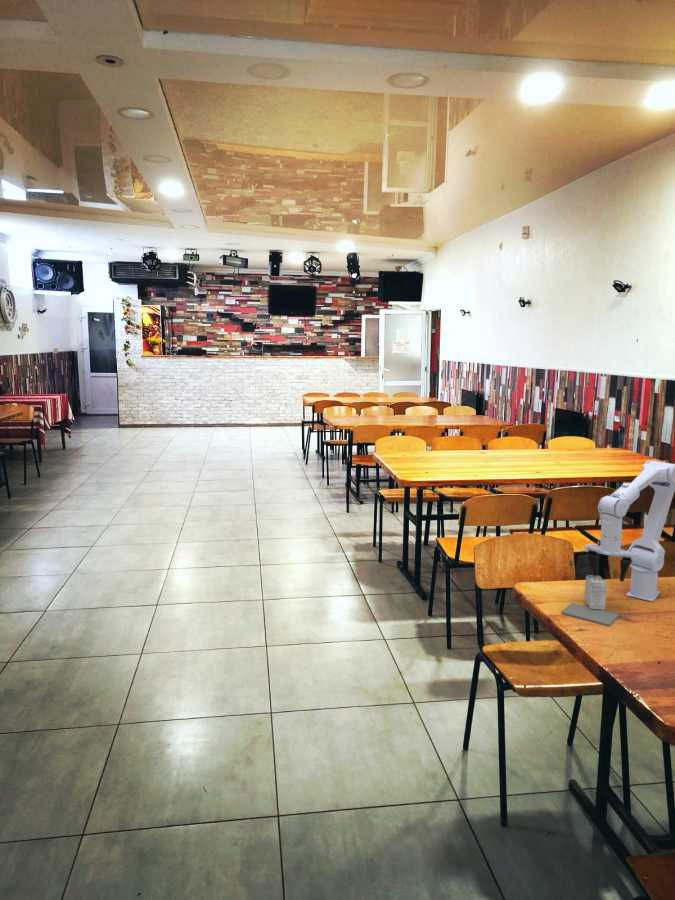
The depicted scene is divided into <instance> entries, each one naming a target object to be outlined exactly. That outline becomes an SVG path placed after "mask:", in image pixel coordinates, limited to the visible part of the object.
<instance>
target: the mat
mask: <svg viewBox="0 0 675 900" xmlns="http://www.w3.org/2000/svg"><path fill="white" fill-rule="evenodd" d="M560 614H561V615H565V616H568V617H572V618H576V619H579V620H583V621H587V622H590V623H594V624H598V625H603V626H605V627H611V626H612V624H613V623H614V622H615V621H616V620H617V619H618V618H619V617H620V614H618V613H615V612H610V611H608V610H607V611H606V610H596V609H590V607H589V606H588V605H584V604H579V603H575V602H570V603H569V604H568V605H567V606H566V607H564V609H563V610H561V612H560Z"/></svg>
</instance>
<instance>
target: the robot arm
mask: <svg viewBox="0 0 675 900" xmlns="http://www.w3.org/2000/svg"><path fill="white" fill-rule="evenodd" d="M648 486H650V488H653V490H654V495H653V497H652V500H651V501H652V502H651V505H650V507H649V511H648V515H647V517H646V520H645V524H644V527H643V530H642V534H641V537H639V538H636V539H634V540H632V542H631V544H630V546H629V548H628V549H627V550H626V549H623V548H621V547H622V532H623V518H624V517H625V516H626V514H627V513H628V510H629V509H630V506H631V505H632V504H633V503H634V502H635V501H636V500H637V499H639V497H640V492H642V490H643V489H645V488H647V487H648ZM674 494H675V463H668V462H661V461H655V460H652V459H650V460H649V459H648V460H647V461H645V463H644V464H642V468H641V472H640V473H639V474H638V475H637V476H636V477H635V478H634V479H633V480H632V481H631V482H629V483H628V482H626V483H625V482H624V483H622V484H621V486H620V487H618V488H617V489H616V490H615V491H614V492H613V493H611V494H610V495H605V496H603V497H601V498H600V500H599V502H598V505H597V510H598V514H599V519H600V520H601V527H600V528H601V529H600V545H597V544H585V546H584V552H585V553H587V554H586V557H587V559H588V561H589V563H590V565H591V568H592V573H593V575H594V576H599V570H600V569H599V566H600V565H599V563H600V556H601V555H605V556H611V557H617V558H622V559H621V560H620V561H619V563H620V575H619V582H622V583H623V582H624V581H625V577H626V576H627V571H628V570H629V568H631V573H630V575H631V576H630V588H629V591H628V592H627V593H625V596H627V597H630V598H635V599H640V600H643V601H644V600H645V601H648V602H654V601H655V599H656V598H657V597H658V596H659V595H660V594H661V591H660V590H658V580H659V579H658V576H659V575H658V572H660V571H661V570H662V568H663V566H664V564H665V554H666V550H665V549H664V547H663V546H662V545H661V544H660V542H659V541H660V539H661V535H662V532H663V529H664V526H665V523H666V519H667V516H668V513H669V510H670V507H671V503H672V500H673V497H674Z"/></svg>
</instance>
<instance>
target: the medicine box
mask: <svg viewBox="0 0 675 900" xmlns="http://www.w3.org/2000/svg"><path fill="white" fill-rule="evenodd" d="M607 585H608V584H607V582H606V581H605V580H604V579H603V578H602V577H601V576H600V575H597V576H594V574H587V575H586V576H585V584H584V587H585V588H584V598H583V599H584V602H585V603H586V604H587V605H586V606H588V607H590V609H596V610H603V611H606V600H607V599H606V598H607V597H606V596H607Z"/></svg>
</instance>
